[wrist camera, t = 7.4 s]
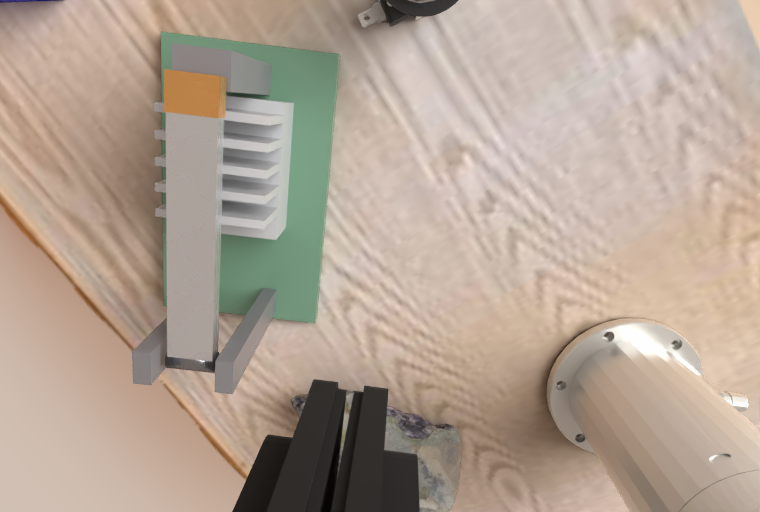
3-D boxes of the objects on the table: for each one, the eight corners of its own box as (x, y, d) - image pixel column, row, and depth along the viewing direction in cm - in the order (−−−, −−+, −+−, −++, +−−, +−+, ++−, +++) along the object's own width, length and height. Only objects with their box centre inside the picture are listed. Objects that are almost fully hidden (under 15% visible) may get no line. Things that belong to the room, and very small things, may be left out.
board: (340, 55, 34) (316, 29, 23) (316, 317, 40) (288, 407, 28) (167, 33, 34) (49, -5, 22) (168, 301, 40) (76, 384, 28)
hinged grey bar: (227, 77, 25) (220, 75, 24) (219, 366, 30) (213, 376, 29) (172, 70, 25) (162, 68, 24) (173, 361, 30) (164, 371, 29)
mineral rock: (289, 385, 42) (261, 467, 33) (399, 328, 41) (404, 398, 31) (365, 493, 46) (359, 597, 36) (470, 445, 44) (494, 540, 34)
